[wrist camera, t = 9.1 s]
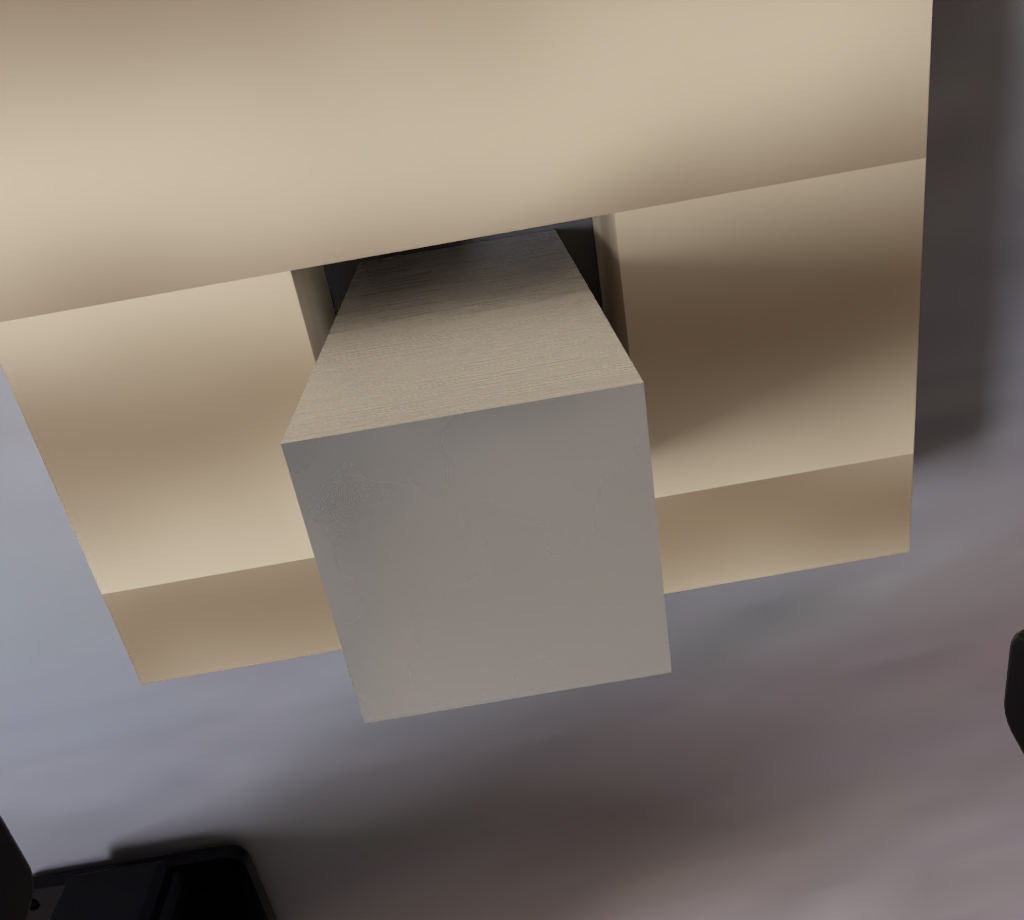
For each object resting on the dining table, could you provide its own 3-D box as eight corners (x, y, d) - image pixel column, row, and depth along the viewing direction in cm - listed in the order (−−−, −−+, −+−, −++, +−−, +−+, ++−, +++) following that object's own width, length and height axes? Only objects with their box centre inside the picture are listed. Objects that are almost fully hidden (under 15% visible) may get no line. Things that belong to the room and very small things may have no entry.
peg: (578, 410, 19) (672, 672, 11) (400, 440, 19) (364, 723, 11) (555, 229, 18) (643, 382, 9) (359, 262, 18) (281, 444, 9)
